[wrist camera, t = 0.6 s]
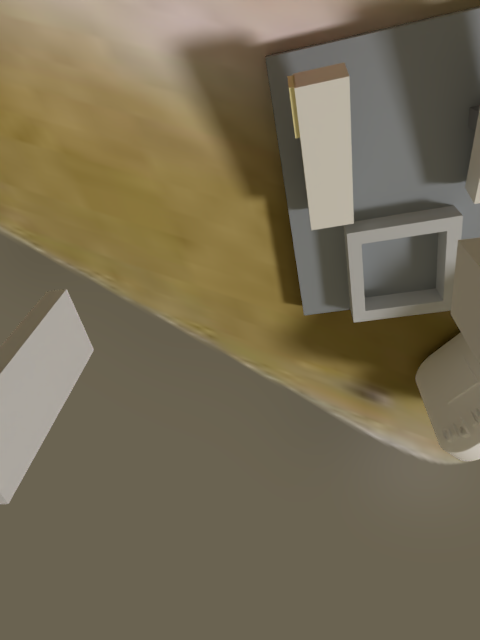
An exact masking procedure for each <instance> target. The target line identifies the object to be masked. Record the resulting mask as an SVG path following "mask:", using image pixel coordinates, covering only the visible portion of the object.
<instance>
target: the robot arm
mask: <svg viewBox="0 0 480 640" xmlns="http://www.w3.org/2000/svg"><path fill="white" fill-rule="evenodd" d="M451 316H452V318H453V319H454V321H455V323H456V324H457V326H458V328H459V330H460V331H461V333H462V335H463V337H464V338H465V340H466V342H467V343H468V345H469V347H470V349H471V350H472V352H473V354H474V356H475V357H476V359H477V361H478V362H479V364H480V237H479V238H471V239H463V240H458V245H457V255H456V265H455V275H454V284H453V294H452V304H451ZM93 351H94V349H93V347H92V345H91V342H90V340H89V338H88V335H87V333H86V331H85V329H84V327H83V324H82V322H81V320H80V318H79V315H78V313H77V311H76V309H75V306H74V304H73V302H72V300H71V298H70V295H69V293H68V291H67V289H62V290H54V291H47V292H46V293H45V294H44V295H43V297H42V298H41V299H40V300H39V301H38V303H37V304H36V305H35V306H34V307H33V308H32V310H31V311H30V312H29V313H28V314H27V316H26V317H25V318H24V319H23V320H22V321H21V323H20V324H19V325H18V326H17V327H16V329H15V330H14V331H13V332H12V334H10V336H9V337H8V338H7V339H6V340H5V342H4V343H3V344H2V345H1V346H0V504H9V502H10V500H11V498H12V496H13V495H14V493H15V491H16V489H17V487H18V485H19V484H20V482H21V480H22V478H23V477H24V475H25V473H26V471H27V469H28V468H29V466H30V464H31V462H32V460H33V459H34V457H35V455H36V453H37V451H38V450H39V448H40V446H41V444H42V442H43V440H44V439H45V437H46V435H47V433H48V432H49V430H50V428H51V426H52V424H53V422H54V421H55V419H56V417H57V415H58V414H59V412H60V410H61V408H62V406H63V405H64V403H65V401H66V399H67V397H68V396H69V394H70V392H71V390H72V388H73V387H74V385H75V383H76V381H77V379H78V377H79V376H80V374H81V372H82V370H83V369H84V367H85V365H86V363H87V361H88V360H89V358H90V356H91V354H92V352H93Z"/></svg>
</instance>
